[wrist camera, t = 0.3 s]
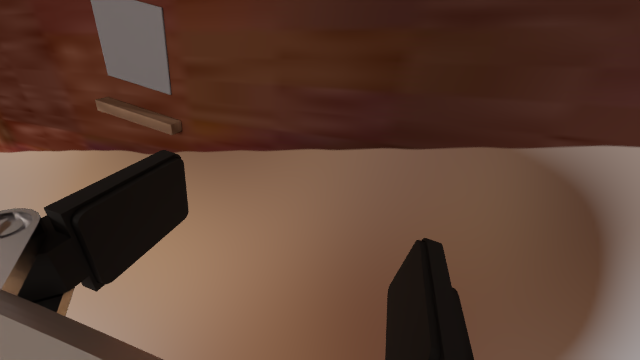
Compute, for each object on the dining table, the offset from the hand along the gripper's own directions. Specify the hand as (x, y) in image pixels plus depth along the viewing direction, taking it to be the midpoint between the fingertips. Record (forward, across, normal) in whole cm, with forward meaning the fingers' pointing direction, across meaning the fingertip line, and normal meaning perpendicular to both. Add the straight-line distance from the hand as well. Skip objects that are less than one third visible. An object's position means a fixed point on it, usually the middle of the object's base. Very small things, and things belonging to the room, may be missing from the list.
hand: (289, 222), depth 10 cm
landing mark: (+31, +39, +3) cm, 50 cm away
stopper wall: (+31, +39, +15) cm, 52 cm away
